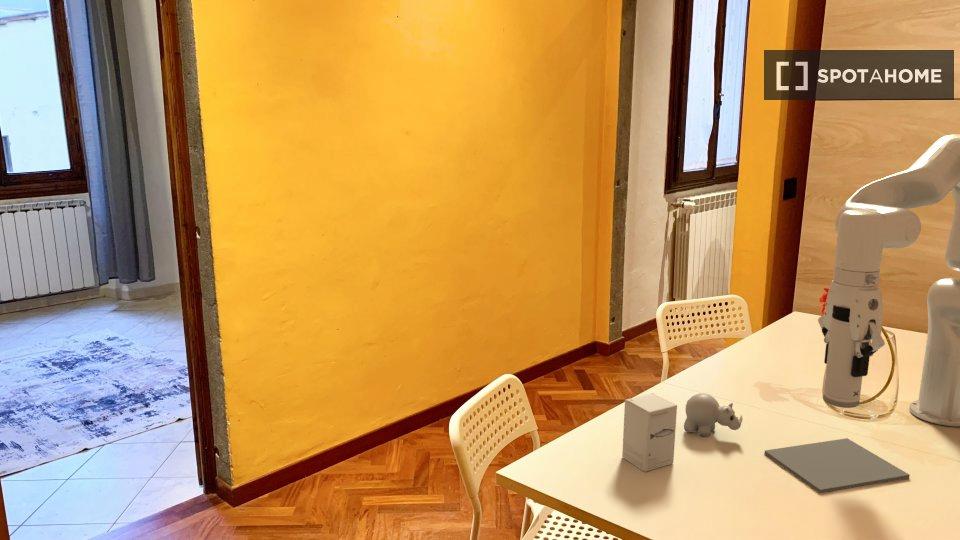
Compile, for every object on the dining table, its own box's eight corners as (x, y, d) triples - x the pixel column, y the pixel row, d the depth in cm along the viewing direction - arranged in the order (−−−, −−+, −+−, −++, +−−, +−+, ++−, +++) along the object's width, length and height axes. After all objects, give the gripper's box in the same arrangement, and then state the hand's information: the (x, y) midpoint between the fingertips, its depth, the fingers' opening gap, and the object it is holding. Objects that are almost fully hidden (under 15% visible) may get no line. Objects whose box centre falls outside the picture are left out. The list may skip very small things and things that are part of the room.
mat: (846, 441, 154) (847, 438, 154) (909, 478, 139) (909, 474, 139) (764, 454, 149) (764, 450, 149) (819, 493, 134) (820, 489, 134)
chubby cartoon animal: (735, 448, 152) (738, 409, 150) (678, 433, 158) (681, 396, 157) (745, 435, 157) (748, 398, 155) (690, 421, 164) (693, 385, 162)
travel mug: (865, 409, 137) (877, 306, 133) (827, 407, 138) (838, 304, 134) (855, 396, 143) (867, 297, 139) (819, 394, 144) (829, 295, 140)
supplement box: (645, 473, 142) (648, 412, 139) (621, 457, 148) (623, 398, 145) (674, 464, 145) (678, 404, 142) (649, 449, 151) (652, 391, 148)
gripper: (910, 287, 128) (897, 384, 132) (838, 266, 144) (829, 353, 149) (875, 290, 126) (863, 388, 130) (806, 268, 143) (797, 356, 147)
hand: (845, 368), depth 139 cm, fingers closed on travel mug, 6 cm apart
